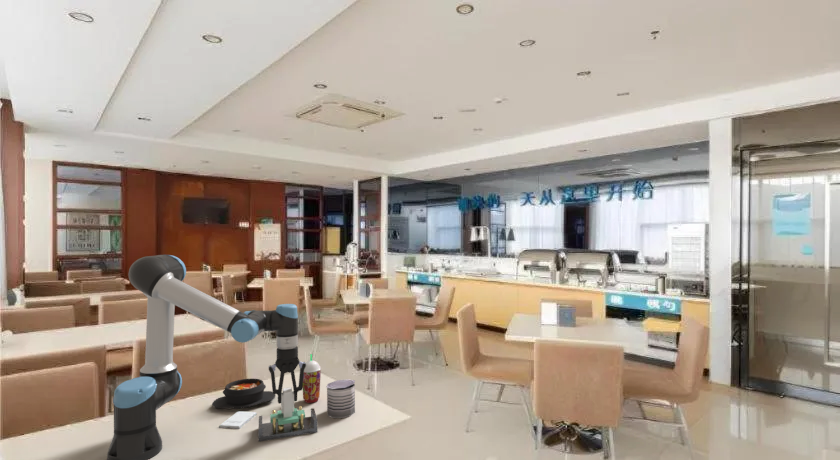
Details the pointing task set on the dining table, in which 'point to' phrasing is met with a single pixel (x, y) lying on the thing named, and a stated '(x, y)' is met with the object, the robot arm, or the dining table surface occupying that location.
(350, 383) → the can
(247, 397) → the casserole
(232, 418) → the external hard drive
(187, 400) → the dining table surface
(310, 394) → the smoothie
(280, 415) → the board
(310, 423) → the chassis
